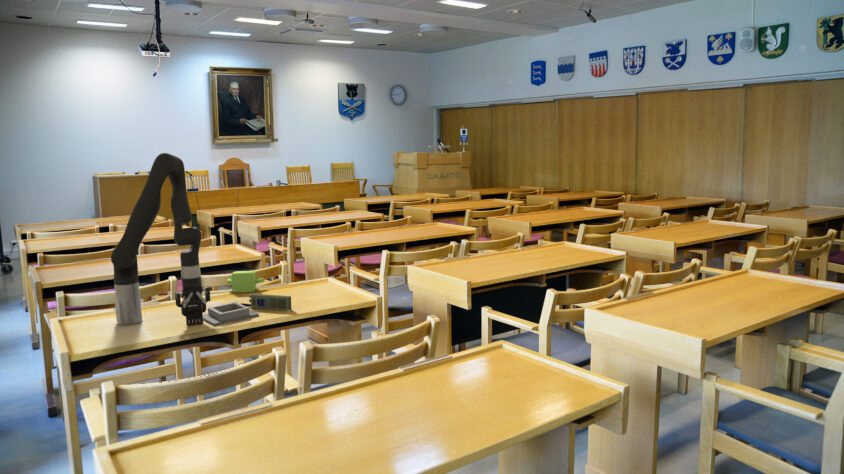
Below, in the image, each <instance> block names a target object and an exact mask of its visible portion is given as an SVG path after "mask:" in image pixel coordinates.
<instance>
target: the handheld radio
mask: <svg viewBox="0 0 844 474" xmlns="http://www.w3.org/2000/svg"><path fill="white" fill-rule="evenodd" d="M248 295H249V296H248V299H249V298H250V299H249V300H248V301H249V303H244V302H241V303H240V304H242V305H244V306H246V307H248V308H249V307H250V308H251V309H257V310H269V309H272V310H271V311H283V310H290V311H291V310H292V296H291V295H280V294H279V295H277V294H266V293H265V294H264V293H248Z"/></svg>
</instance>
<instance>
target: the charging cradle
mask: <svg viewBox="0 0 844 474" xmlns="http://www.w3.org/2000/svg"><path fill="white" fill-rule="evenodd" d="M259 316H260V314H259V313H257V312H256V311H254V310H251V309H250V308H249V307H248V306H244V305H242V304H241V303H240V302H237V301H234V302H228V303H225V304H219V305H218V304H217V305H214V306H210V307H207V313H203V322H207V323H209V324H210V325H212V326H213V325H214V326H213V327H217V326H221V325H224V323H226V324H230V323H233V322H238V320H239V321H243V320H247V319H252V318H255V317H256V318H257V317H259ZM229 322H230V323H229ZM220 324H221V325H220ZM216 325H217V326H216Z"/></svg>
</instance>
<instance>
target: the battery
mask: <svg viewBox="0 0 844 474" xmlns="http://www.w3.org/2000/svg"><path fill="white" fill-rule="evenodd" d="M186 313H187V316H185V322H186V323H185V324H186V325H187V326H195V325H202V324H203V323H204V320H203V314H204V313H203V307H202V301H201V299H200V298H195V299H192V300H189V302H188V303H187V305H186Z"/></svg>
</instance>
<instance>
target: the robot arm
mask: <svg viewBox="0 0 844 474" xmlns="http://www.w3.org/2000/svg"><path fill="white" fill-rule="evenodd" d="M185 169H186V168H185V163H184V161H183V160H182V158H180V157H178V156H176V155H173V154H171V153H168V152H161V153H159V154H158V155H157V156H156V157H155V159H154V161H153V164H152V166H151V168H150V171H149V174H148V177H147V180H146V182H145V184H144V186H143V189H142V191H141V193H140V195H139V197H138V199H137V200H136V203H135V204H134V207H133V209H132V211H131V213H130V216H129V218H128V221H127V224H126V227H125V230H124V233H123V235H122V237H121V238H120V240H119V242H118V243H117V245H116V246H115V247H114V248H113V249H112V251H111V254H110V260H111V263H112V265H113V283H114V293H115V301H114V308H115V316H116V318H115V319H116V323H117V322H118V323H119V324H118V323H117V324H118V325H119V326H121V325H122V326H132V325H136V324H139V323H141V322H143V314H142V313H143V312H142V304H141V293H140V284H139V267H138V252H139V248H140V246H141V245H142V244H141V243H142V241H143V239H144V238H145V237H146V235H147V233H148V232H149V231H150V228H151V227H152V226H153V223H155V220H156V218H157V216H158V214H159V212H160V211H161V210H160V209H161V202H162V188H163V185H164V183H165V180H166V179H167V178H168V179H169V181H170V184H171V190H172V192H171V198H170V210H171V213H172V216H173V222H174V227H173V228H174V231H173V241H174V243H175V244H176V245H177V246H179V247H184V246H190V247H189V248H188V249H186V250H183V251H181V252H180V254H179V256H180V257H179V258H180V277H181V278H180V279H181V286H182V290H181V291H179V292H177V291H176V292H174V298H175V299H174V300H175V306H176V307H178V308H180V313H181V315H182V316H183V317H186V316H187V313H186V305H187V303H188V302H189V300H192V299H195V298H200V299H201V301H202V307H203V314H205V313H206V311H207V303H208V302H211V289H210V287H208V286H204V287H202V274H201V266H200V259H199V258H200V257H199V253H200V247H201V241H202V238H203V237H202V231H201V230H200V228H199V227H197V226H191V227H185V228H184V227H183V225H187V224H189V223H191V222H192V221H193V215H192V212H191V207H190V203H189V199H188V193H187V185H186V182H187V181H186V171H185ZM203 292H204V296H203V295H202V293H203ZM182 296H183V298H182ZM181 298H182V301H181Z"/></svg>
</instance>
